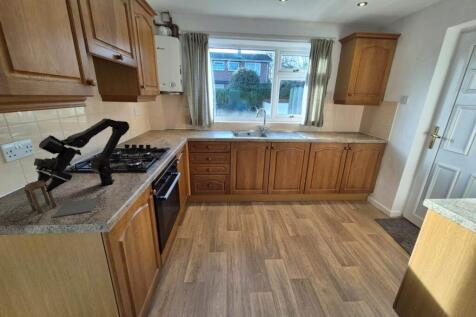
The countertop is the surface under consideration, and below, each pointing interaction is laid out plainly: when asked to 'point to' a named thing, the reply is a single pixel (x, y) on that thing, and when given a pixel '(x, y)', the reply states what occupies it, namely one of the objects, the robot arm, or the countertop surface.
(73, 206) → the mat
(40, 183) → the stool
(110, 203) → the countertop surface
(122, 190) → the countertop surface
